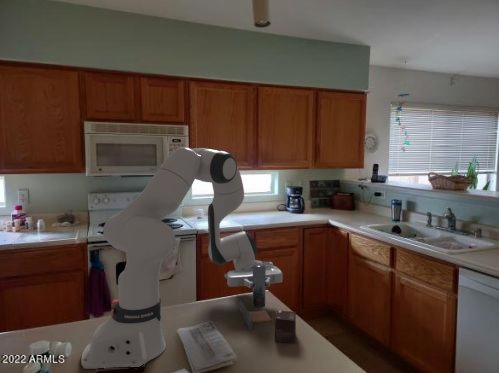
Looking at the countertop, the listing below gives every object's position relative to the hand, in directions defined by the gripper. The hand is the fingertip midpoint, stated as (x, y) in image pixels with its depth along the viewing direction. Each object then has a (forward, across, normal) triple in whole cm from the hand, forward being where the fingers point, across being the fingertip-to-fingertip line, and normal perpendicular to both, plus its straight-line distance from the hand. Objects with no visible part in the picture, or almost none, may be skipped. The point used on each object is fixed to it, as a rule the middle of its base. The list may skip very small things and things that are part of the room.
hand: (259, 285), depth 120 cm
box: (+14, +4, +12) cm, 19 cm away
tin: (-1, 0, +8) cm, 8 cm away
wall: (-1, -5, +12) cm, 13 cm away
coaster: (-1, 0, +12) cm, 12 cm away
